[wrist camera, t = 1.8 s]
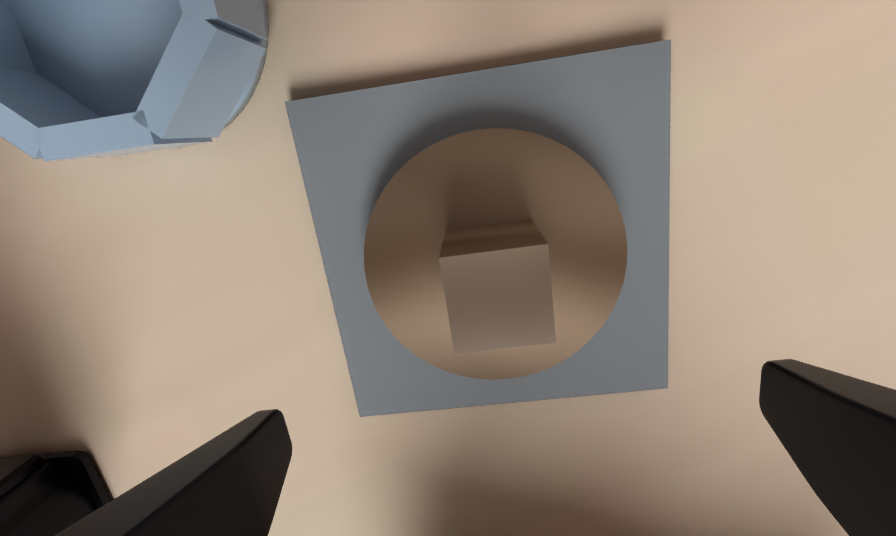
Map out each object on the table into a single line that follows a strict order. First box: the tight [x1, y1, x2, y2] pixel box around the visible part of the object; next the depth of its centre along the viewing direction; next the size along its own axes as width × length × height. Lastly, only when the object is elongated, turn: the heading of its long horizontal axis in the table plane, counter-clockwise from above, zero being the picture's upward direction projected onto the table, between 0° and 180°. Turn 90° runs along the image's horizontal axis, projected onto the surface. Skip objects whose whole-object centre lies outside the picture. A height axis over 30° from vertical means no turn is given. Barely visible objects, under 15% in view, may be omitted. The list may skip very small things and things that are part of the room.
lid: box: [364, 128, 628, 380], centre depth 15 cm, size 10×10×5 cm
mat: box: [285, 40, 671, 417], centre depth 18 cm, size 14×14×1 cm
